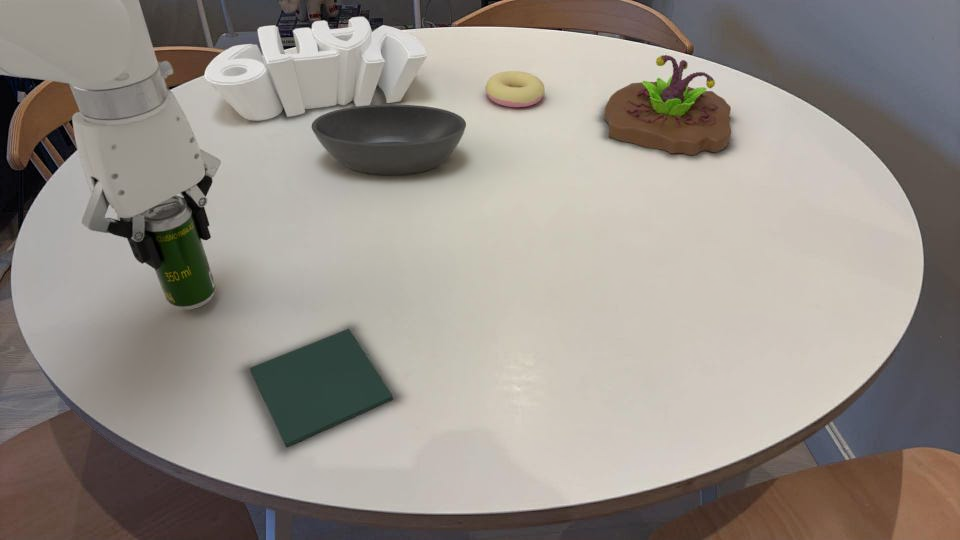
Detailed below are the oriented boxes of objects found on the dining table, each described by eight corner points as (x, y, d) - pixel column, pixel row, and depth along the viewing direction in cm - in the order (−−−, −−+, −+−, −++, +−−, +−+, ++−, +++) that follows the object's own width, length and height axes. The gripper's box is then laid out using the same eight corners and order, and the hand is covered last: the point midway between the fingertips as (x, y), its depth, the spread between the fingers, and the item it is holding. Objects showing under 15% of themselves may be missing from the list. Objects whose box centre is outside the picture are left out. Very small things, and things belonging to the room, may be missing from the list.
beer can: (208, 274, 82) (180, 188, 74) (223, 299, 79) (195, 212, 71) (161, 291, 80) (127, 204, 72) (174, 318, 76) (140, 229, 69)
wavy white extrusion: (416, 67, 129) (413, 10, 122) (432, 108, 116) (429, 47, 110) (219, 87, 122) (204, 27, 116) (214, 132, 110) (197, 69, 103)
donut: (528, 125, 116) (550, 95, 122) (532, 103, 113) (554, 73, 118) (475, 104, 119) (499, 76, 124) (477, 82, 115) (501, 53, 120)
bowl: (465, 184, 99) (464, 146, 95) (310, 183, 99) (303, 145, 95) (467, 141, 108) (467, 104, 104) (325, 140, 108) (320, 103, 104)
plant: (613, 88, 122) (621, 25, 115) (728, 102, 118) (745, 37, 111) (596, 144, 107) (604, 75, 100) (727, 162, 103) (746, 92, 96)
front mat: (286, 447, 65) (285, 444, 65) (250, 370, 72) (249, 367, 72) (393, 399, 69) (392, 395, 69) (349, 331, 77) (348, 328, 76)
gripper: (177, 51, 70) (219, 201, 82) (4, 115, 60) (81, 277, 71) (224, 70, 67) (262, 223, 78) (50, 141, 56) (123, 307, 68)
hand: (175, 247), depth 75 cm, fingers closed on beer can, 5 cm apart
